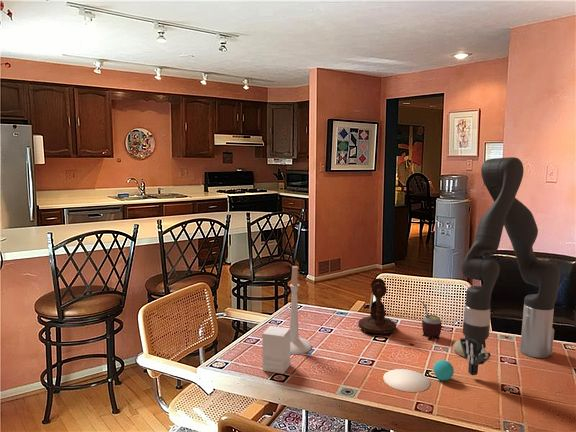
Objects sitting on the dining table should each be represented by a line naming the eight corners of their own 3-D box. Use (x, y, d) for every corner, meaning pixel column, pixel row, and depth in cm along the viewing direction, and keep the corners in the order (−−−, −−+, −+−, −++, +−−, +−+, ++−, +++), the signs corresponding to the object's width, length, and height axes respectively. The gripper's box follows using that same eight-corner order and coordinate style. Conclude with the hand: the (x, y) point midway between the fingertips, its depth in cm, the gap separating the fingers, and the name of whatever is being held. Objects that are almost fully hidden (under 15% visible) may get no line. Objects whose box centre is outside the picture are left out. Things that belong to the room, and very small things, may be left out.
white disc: (416, 368, 152) (416, 367, 152) (438, 389, 138) (438, 389, 138) (376, 371, 149) (376, 371, 149) (395, 394, 135) (395, 393, 135)
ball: (427, 362, 147) (436, 377, 148) (433, 371, 141) (442, 387, 142) (444, 353, 146) (453, 368, 147) (451, 362, 140) (460, 378, 141)
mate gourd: (442, 336, 178) (445, 298, 176) (437, 343, 172) (439, 304, 170) (423, 332, 182) (425, 295, 180) (417, 338, 176) (419, 300, 173)
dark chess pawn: (357, 321, 192) (359, 274, 190) (394, 324, 190) (396, 276, 188) (358, 335, 178) (360, 285, 175) (397, 338, 176) (400, 287, 173)
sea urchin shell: (487, 355, 158) (470, 338, 158) (468, 369, 160) (452, 352, 160) (481, 344, 167) (465, 328, 167) (464, 357, 169) (448, 341, 169)
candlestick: (270, 350, 164) (270, 267, 159) (284, 337, 175) (285, 259, 171) (304, 356, 159) (305, 271, 155) (316, 342, 171) (318, 263, 166)
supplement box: (290, 364, 153) (291, 328, 151) (283, 374, 146) (283, 336, 144) (270, 361, 155) (270, 324, 154) (261, 370, 149) (261, 333, 147)
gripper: (501, 328, 137) (496, 383, 139) (474, 312, 150) (471, 363, 152) (478, 329, 135) (474, 385, 138) (453, 314, 148) (450, 365, 151)
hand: (472, 373), depth 145 cm, fingers closed
